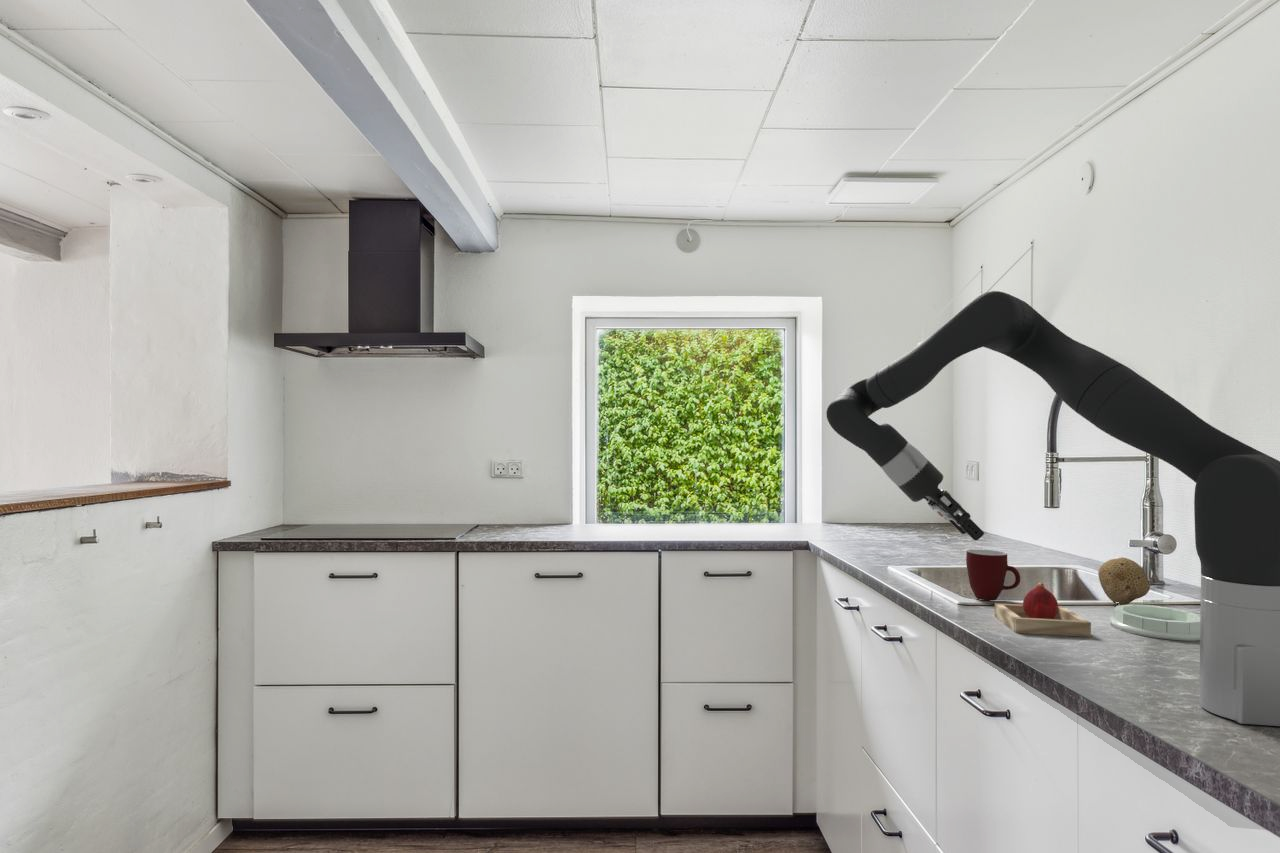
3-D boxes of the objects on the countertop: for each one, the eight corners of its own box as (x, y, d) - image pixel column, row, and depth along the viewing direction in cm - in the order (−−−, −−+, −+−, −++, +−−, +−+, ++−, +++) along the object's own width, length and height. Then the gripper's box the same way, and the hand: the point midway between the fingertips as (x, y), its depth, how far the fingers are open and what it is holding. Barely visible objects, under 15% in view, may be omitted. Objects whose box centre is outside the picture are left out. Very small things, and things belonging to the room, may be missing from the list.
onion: (1062, 631, 137) (1063, 586, 137) (1028, 628, 138) (1028, 585, 138) (1051, 623, 142) (1052, 580, 142) (1018, 621, 144) (1019, 579, 144)
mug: (1018, 598, 164) (1019, 552, 164) (1021, 605, 156) (1021, 557, 156) (965, 593, 168) (966, 548, 168) (965, 600, 161) (966, 553, 161)
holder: (1090, 636, 133) (1090, 622, 133) (1015, 632, 135) (1016, 618, 135) (1062, 619, 145) (1062, 606, 145) (994, 615, 147) (994, 603, 147)
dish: (1228, 642, 130) (1228, 625, 130) (1133, 638, 133) (1134, 620, 133) (1180, 621, 145) (1180, 605, 145) (1096, 617, 147) (1096, 601, 147)
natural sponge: (1140, 602, 161) (1141, 555, 161) (1156, 612, 153) (1157, 562, 153) (1092, 599, 164) (1093, 553, 164) (1106, 608, 155) (1106, 560, 155)
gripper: (934, 459, 136) (1000, 525, 135) (918, 456, 150) (977, 516, 149) (903, 488, 137) (968, 553, 135) (890, 482, 151) (948, 541, 149)
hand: (973, 534), depth 142 cm, fingers open, 8 cm apart
